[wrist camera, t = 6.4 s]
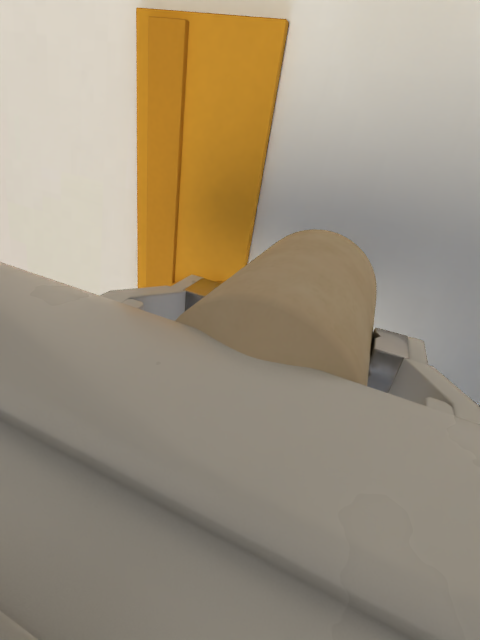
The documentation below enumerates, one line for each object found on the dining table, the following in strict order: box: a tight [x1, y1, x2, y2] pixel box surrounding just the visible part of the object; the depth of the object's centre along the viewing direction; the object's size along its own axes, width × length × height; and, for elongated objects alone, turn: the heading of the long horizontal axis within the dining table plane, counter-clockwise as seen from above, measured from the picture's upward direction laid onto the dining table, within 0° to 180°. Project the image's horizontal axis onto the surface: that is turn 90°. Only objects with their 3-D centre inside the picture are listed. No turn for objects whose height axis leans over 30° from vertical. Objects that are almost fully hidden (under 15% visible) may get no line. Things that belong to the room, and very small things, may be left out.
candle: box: [175, 230, 376, 386], centre depth 11 cm, size 6×6×10 cm
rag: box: [136, 8, 289, 288], centre depth 23 cm, size 9×21×1 cm, turn 170°
